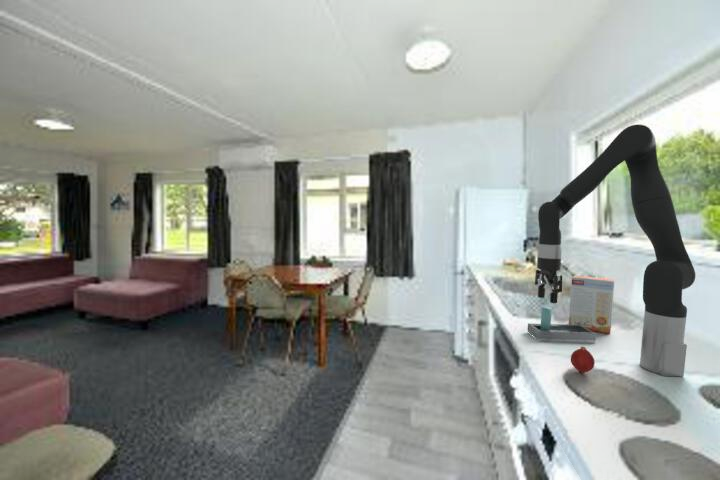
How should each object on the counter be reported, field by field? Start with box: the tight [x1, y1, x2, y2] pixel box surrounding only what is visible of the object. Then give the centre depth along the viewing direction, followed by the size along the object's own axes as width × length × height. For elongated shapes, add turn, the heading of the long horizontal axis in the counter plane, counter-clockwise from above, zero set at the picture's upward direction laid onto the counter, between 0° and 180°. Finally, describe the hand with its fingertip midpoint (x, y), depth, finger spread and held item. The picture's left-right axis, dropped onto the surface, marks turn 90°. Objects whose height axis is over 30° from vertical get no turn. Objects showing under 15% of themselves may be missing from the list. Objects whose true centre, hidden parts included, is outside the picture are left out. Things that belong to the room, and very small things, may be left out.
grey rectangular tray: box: [527, 323, 597, 344], centre depth 127 cm, size 9×20×4 cm, turn 88°
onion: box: [570, 346, 595, 374], centre depth 98 cm, size 6×6×8 cm
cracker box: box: [568, 275, 615, 335], centre depth 137 cm, size 14×6×21 cm, turn 52°
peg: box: [539, 306, 553, 330], centre depth 126 cm, size 6×6×10 cm
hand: (547, 300), depth 125 cm, fingers open, 8 cm apart
